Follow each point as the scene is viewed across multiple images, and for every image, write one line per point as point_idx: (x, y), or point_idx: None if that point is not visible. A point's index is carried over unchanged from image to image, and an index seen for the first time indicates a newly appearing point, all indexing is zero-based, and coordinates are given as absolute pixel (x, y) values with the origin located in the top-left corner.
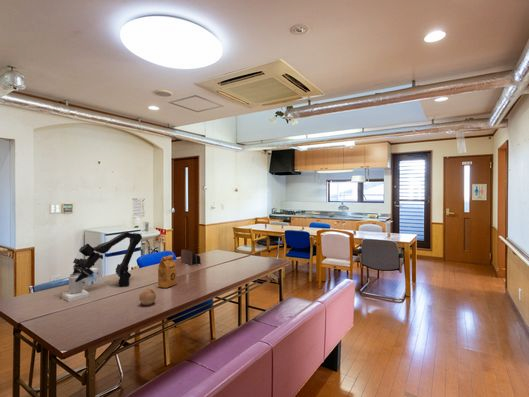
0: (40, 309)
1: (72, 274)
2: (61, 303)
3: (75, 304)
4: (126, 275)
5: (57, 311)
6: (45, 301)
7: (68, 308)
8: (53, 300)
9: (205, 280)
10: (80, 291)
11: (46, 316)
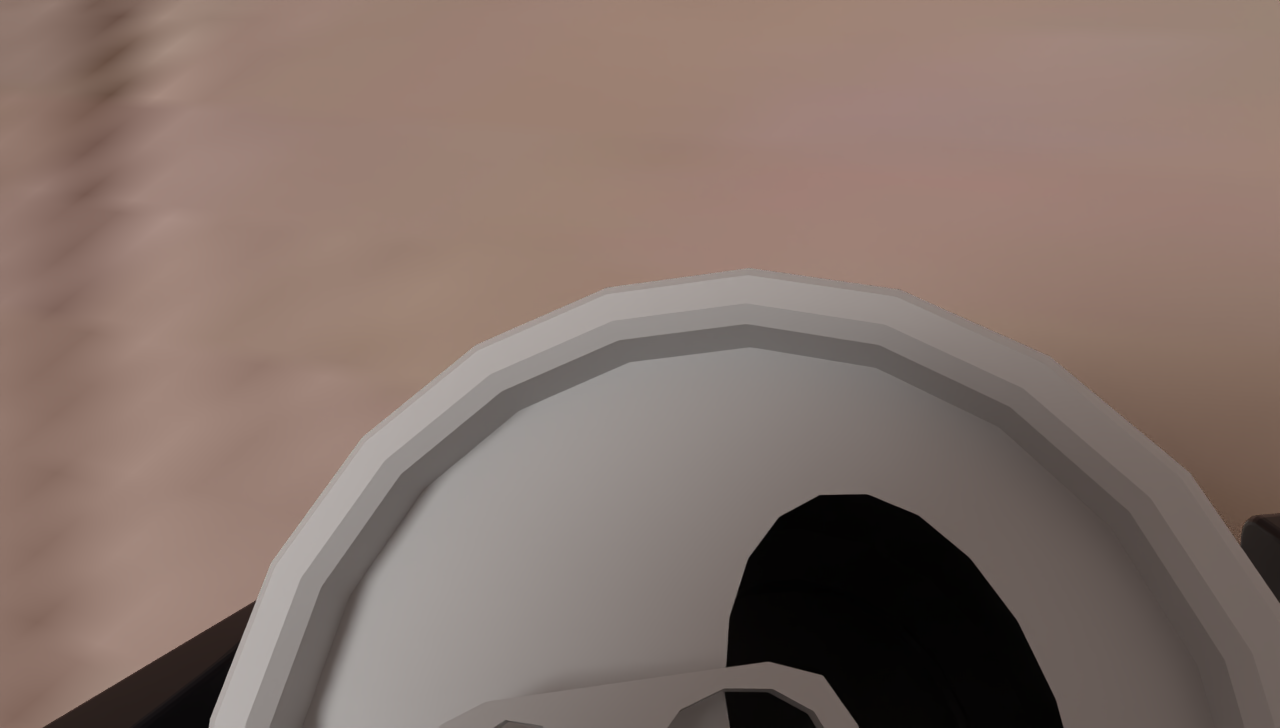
0: (459, 19)
1: (1144, 571)
2: None
3: (170, 562)
4: None
5: (94, 218)
6: (961, 108)
7: (64, 391)
8: (911, 245)
9: None
10: None
11: (32, 73)
